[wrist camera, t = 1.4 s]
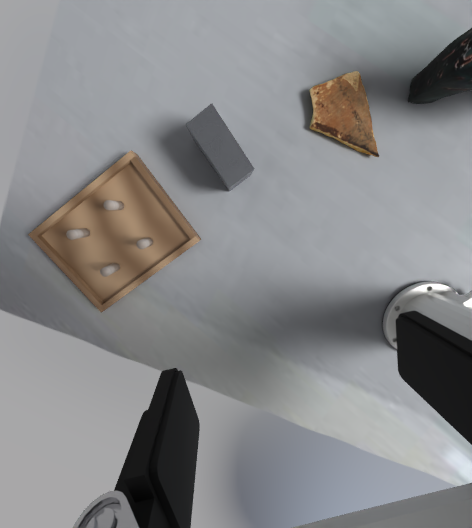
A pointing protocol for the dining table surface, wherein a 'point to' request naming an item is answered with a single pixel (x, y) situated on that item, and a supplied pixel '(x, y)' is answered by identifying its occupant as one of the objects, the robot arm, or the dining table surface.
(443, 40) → the dining table surface
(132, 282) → the pin tray
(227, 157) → the block
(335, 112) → the shard
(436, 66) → the ceramic cat
